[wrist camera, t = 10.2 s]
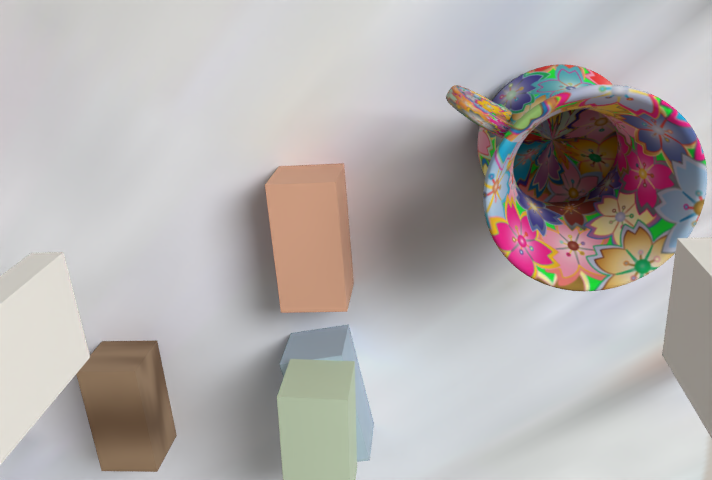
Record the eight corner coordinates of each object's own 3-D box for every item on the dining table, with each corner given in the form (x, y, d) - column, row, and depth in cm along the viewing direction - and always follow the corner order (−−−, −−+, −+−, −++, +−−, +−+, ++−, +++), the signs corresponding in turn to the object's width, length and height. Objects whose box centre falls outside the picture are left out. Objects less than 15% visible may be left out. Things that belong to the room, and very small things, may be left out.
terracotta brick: (279, 165, 41) (264, 184, 37) (344, 162, 40) (335, 181, 37) (293, 283, 44) (280, 312, 40) (353, 282, 43) (347, 311, 40)
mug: (670, 113, 37) (757, 164, 28) (565, 241, 41) (609, 327, 31) (493, -7, 36) (518, 2, 26) (399, 136, 39) (390, 191, 30)
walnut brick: (103, 340, 47) (75, 371, 43) (158, 339, 46) (134, 371, 43) (125, 433, 50) (101, 470, 46) (177, 434, 49) (157, 471, 46)
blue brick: (291, 332, 45) (279, 364, 41) (348, 323, 44) (341, 355, 41) (319, 428, 48) (310, 467, 44) (373, 421, 47) (369, 460, 44)
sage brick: (357, 466, 44) (350, 512, 40) (297, 463, 44) (285, 508, 41) (354, 361, 41) (347, 399, 37) (290, 358, 41) (276, 397, 38)
